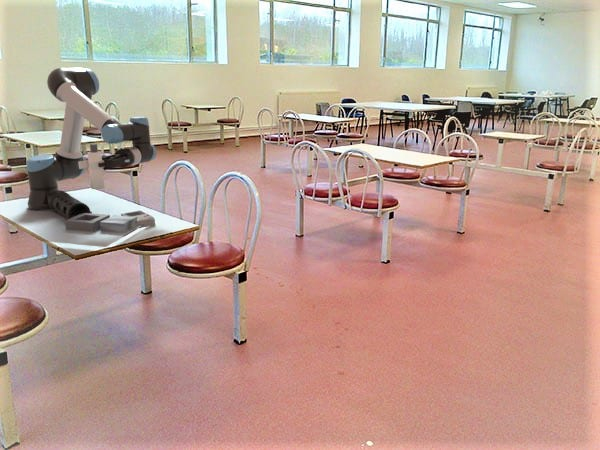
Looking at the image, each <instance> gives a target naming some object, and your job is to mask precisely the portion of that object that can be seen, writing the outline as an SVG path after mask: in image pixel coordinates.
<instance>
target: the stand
mask: <svg viewBox="0 0 600 450" xmlns="http://www.w3.org/2000/svg"><path fill="white" fill-rule="evenodd" d="M100 226H101V228H100V231H101V232H112V233H122V234H125V233H127V232H128V231H130V230H131V229H134V228H135V227H137V226H138V225H137V217H130V216H121V215H115V214H114V215H110V217H109V218H107V219H105V220H103V221H101V222H100ZM136 230H137V228H135V229H134V230H132V231H130V232H128V233H127V234H125V235H124V237H126V236H127V235H128V236H129V235H130V234H131V233H133V232H134V231H136Z"/></svg>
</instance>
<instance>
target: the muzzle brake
mask: <svg viewBox="0 0 600 450" xmlns="http://www.w3.org/2000/svg"><path fill="white" fill-rule="evenodd" d="M58 190H59V189H58ZM48 205H49V207H50V208H51V209H50V210H52V211H54V212H56V213H59V215H61V216H62V217H64V218H65V219H66V220H68V219H70V218H72V216H71V214H74V215H75V216H77V215H79V214H82V213H92V214H93V212H92V211H91V209H90V207H89V206H88V205H87V204H86V203H84V202H82V201H80V200H78V199H77V198H75V197H74V196H71V195H70V194H69V193H68V192H66V191H63V190H59V191H55V192H53V193H51V194H50V195H49V197H48Z"/></svg>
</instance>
